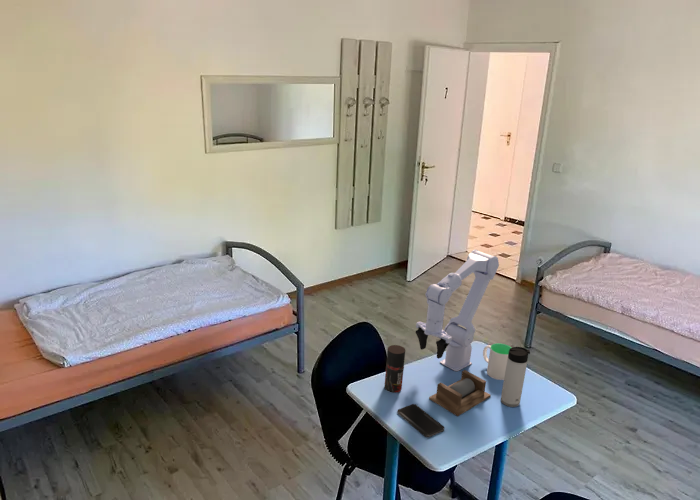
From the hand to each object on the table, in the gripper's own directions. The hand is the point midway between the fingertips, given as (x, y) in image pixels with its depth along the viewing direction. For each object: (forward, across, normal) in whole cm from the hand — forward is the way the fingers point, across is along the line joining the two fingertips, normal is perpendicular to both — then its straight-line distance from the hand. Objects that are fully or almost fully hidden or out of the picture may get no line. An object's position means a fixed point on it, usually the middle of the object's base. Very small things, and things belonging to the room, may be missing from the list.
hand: (431, 353), depth 195 cm
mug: (+10, +12, +23) cm, 28 cm away
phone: (+10, +15, -21) cm, 28 cm away
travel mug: (+10, +27, +11) cm, 31 cm away
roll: (+9, +15, -1) cm, 17 cm away
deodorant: (+10, -3, -15) cm, 18 cm away
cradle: (+10, +15, -1) cm, 18 cm away
